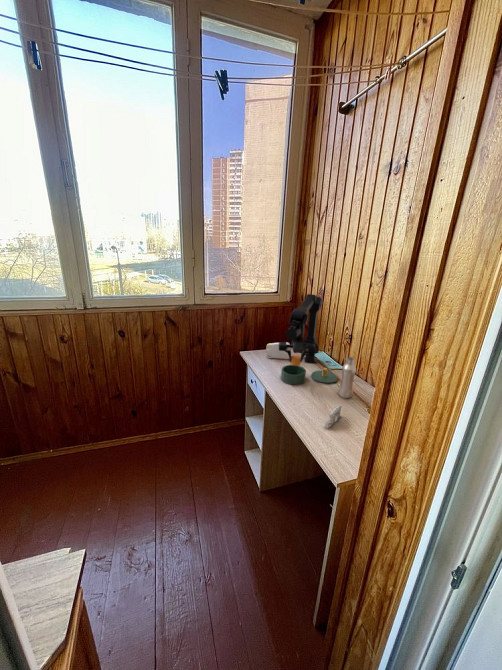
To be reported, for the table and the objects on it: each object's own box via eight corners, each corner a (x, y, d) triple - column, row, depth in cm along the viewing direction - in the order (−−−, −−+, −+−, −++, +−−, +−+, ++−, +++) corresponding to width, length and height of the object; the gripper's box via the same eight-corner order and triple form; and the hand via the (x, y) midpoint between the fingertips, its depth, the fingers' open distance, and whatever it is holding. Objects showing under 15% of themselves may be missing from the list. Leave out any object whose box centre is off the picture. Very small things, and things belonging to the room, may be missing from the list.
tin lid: (309, 371, 166) (310, 362, 164) (334, 372, 165) (335, 363, 163) (313, 383, 153) (314, 373, 151) (339, 384, 153) (340, 375, 151)
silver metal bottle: (352, 394, 144) (358, 356, 137) (351, 401, 138) (358, 362, 131) (338, 391, 146) (343, 354, 139) (337, 398, 140) (343, 360, 133)
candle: (290, 361, 158) (290, 354, 156) (299, 362, 157) (300, 355, 156) (291, 365, 153) (291, 358, 152) (300, 366, 153) (301, 359, 151)
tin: (280, 373, 164) (281, 364, 162) (303, 374, 163) (304, 365, 161) (281, 384, 152) (282, 374, 150) (306, 385, 151) (307, 376, 149)
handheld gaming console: (267, 359, 185) (291, 358, 182) (267, 361, 183) (291, 360, 179) (266, 342, 182) (290, 342, 178) (265, 344, 179) (289, 343, 176)
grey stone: (328, 429, 118) (330, 417, 116) (324, 427, 119) (325, 415, 117) (340, 416, 127) (342, 404, 125) (336, 414, 128) (338, 402, 126)
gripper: (280, 338, 142) (278, 367, 148) (318, 340, 142) (315, 369, 147) (279, 331, 153) (277, 358, 158) (315, 333, 152) (312, 360, 157)
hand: (295, 362), depth 155 cm, fingers closed on candle, 5 cm apart
